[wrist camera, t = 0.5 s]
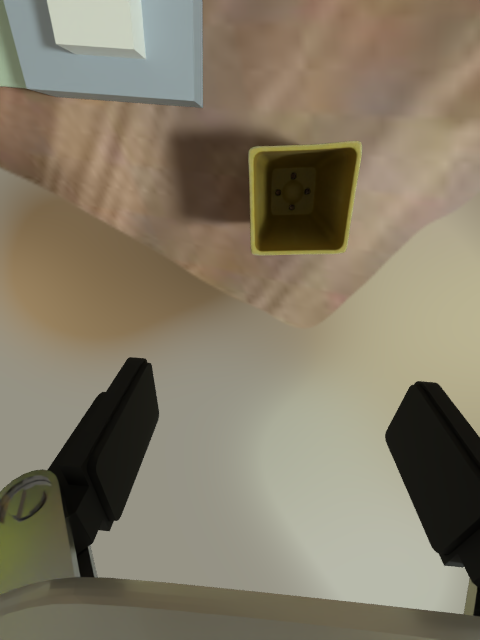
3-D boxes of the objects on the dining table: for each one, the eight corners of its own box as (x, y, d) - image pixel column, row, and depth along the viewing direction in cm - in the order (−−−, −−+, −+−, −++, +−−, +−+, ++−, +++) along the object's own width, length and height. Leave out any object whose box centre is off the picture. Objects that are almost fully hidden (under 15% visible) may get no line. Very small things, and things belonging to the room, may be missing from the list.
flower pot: (252, 232, 33) (250, 256, 26) (251, 148, 29) (247, 146, 21) (326, 230, 33) (346, 254, 25) (336, 144, 28) (364, 140, 20)
